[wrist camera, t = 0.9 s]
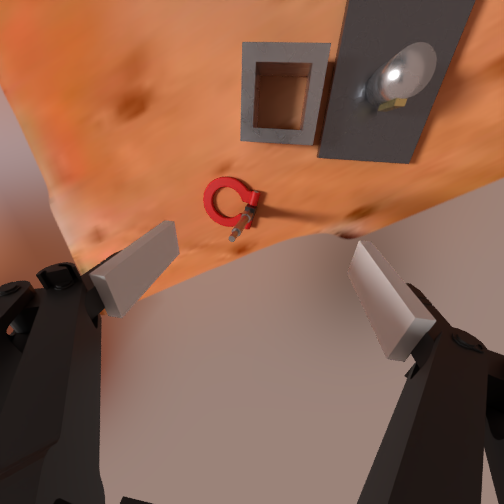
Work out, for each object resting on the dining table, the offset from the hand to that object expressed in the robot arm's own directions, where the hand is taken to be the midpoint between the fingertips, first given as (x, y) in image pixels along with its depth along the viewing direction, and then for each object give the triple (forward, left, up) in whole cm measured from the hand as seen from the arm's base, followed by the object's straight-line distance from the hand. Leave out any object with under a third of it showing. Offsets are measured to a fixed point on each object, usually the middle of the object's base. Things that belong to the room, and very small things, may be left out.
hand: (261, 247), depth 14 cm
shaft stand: (-13, +12, -20) cm, 27 cm away
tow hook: (+3, -7, -21) cm, 22 cm away
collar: (-11, 0, -20) cm, 23 cm away
